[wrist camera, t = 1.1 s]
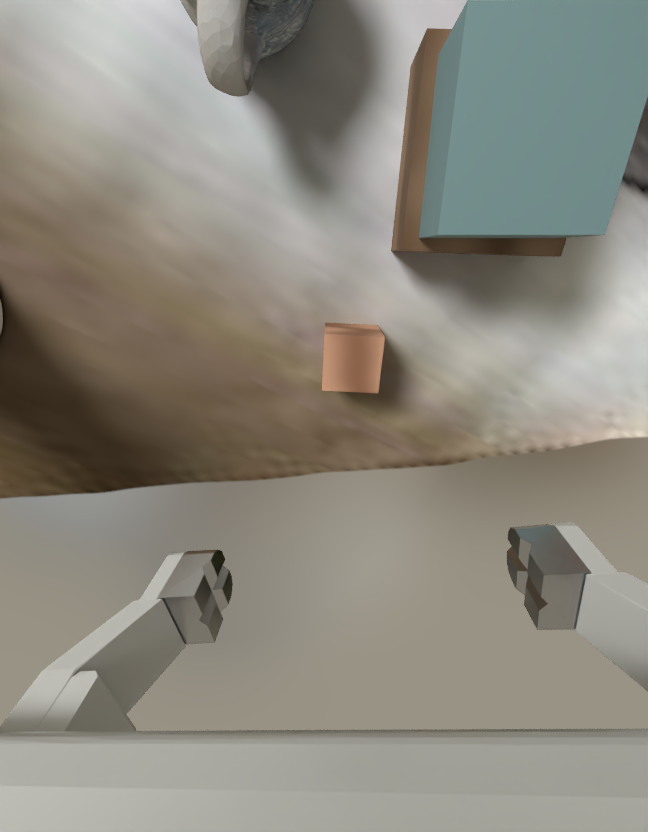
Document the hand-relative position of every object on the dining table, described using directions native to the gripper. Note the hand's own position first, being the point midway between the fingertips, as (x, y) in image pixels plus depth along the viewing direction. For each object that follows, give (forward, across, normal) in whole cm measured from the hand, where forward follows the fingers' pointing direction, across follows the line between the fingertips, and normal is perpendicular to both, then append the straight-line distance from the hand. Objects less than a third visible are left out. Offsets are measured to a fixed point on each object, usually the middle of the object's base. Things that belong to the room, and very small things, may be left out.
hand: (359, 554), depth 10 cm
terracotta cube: (+26, 0, 0) cm, 26 cm away
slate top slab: (+22, -12, -13) cm, 28 cm away
